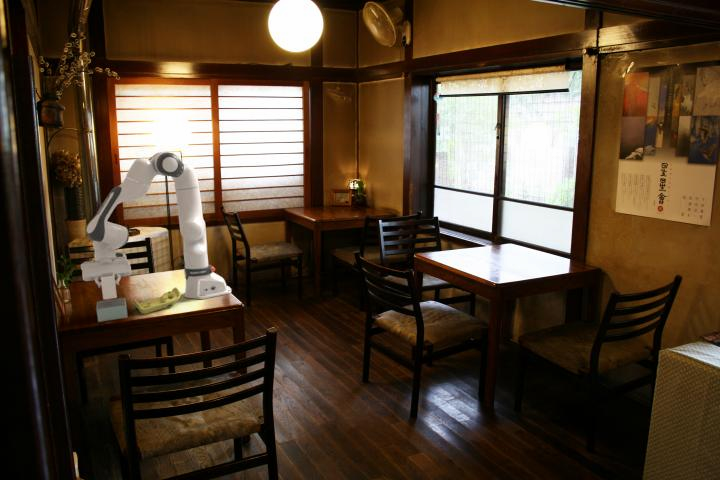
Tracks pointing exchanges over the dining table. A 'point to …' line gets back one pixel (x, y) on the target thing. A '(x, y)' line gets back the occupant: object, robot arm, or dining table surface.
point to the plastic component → (158, 302)
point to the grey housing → (108, 285)
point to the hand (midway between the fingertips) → (108, 285)
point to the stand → (111, 309)
